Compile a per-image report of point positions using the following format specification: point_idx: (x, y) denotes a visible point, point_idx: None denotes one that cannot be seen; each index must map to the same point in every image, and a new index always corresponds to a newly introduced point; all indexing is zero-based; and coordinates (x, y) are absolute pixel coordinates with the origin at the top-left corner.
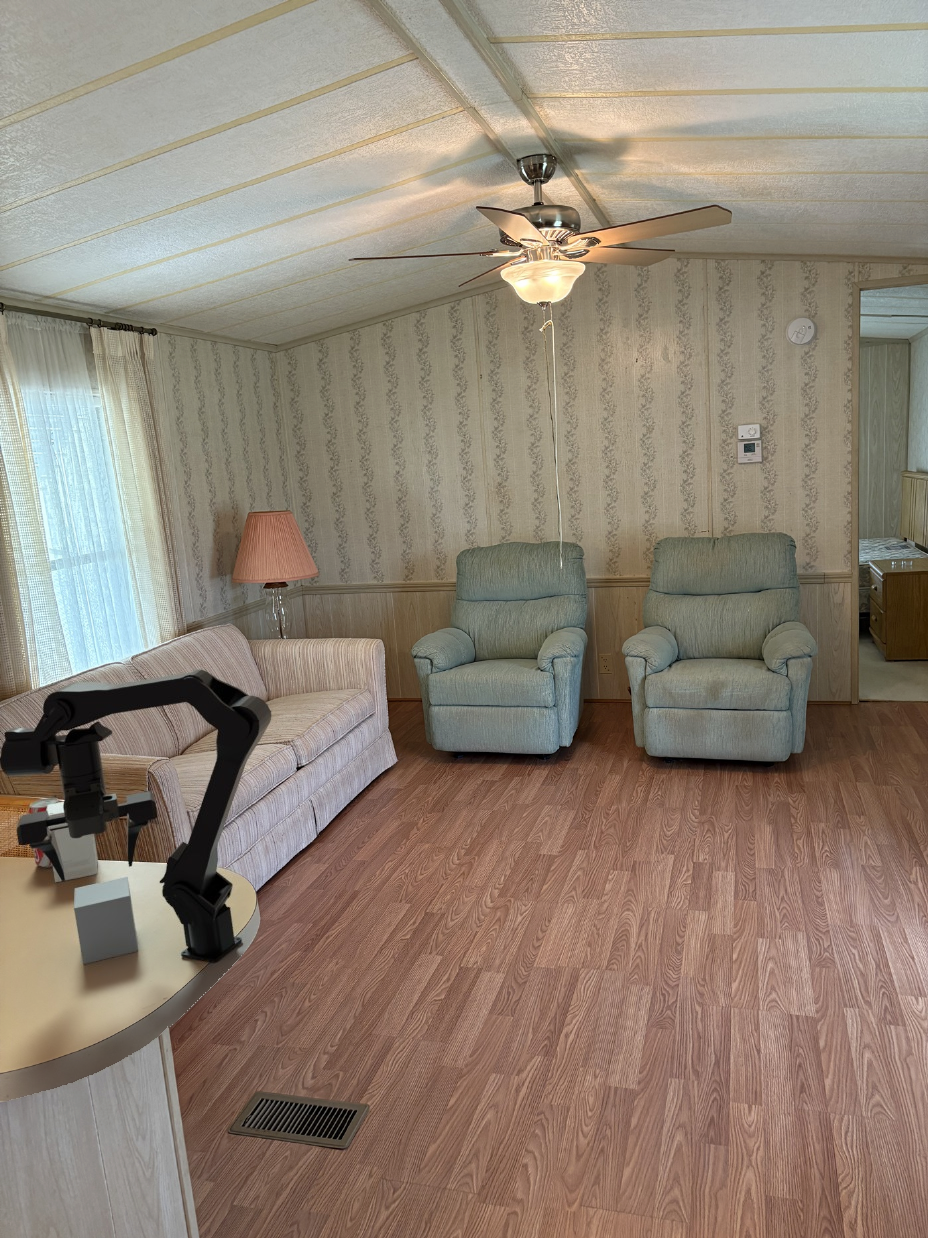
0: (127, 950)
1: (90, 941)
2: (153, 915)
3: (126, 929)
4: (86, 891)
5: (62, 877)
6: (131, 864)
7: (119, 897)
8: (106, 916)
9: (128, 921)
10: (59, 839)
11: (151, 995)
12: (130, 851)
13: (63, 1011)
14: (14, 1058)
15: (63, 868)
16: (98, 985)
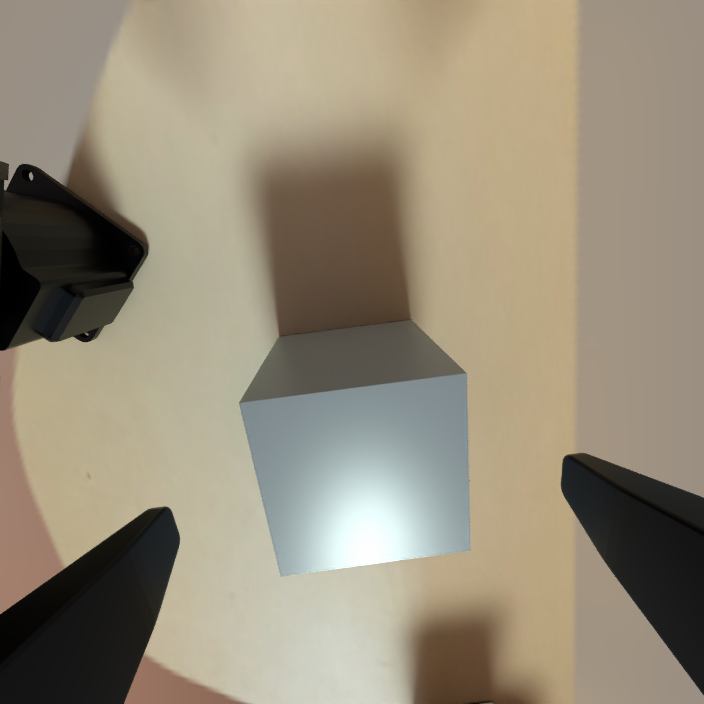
0: (302, 335)
1: (395, 336)
2: None
3: (290, 353)
4: (425, 509)
5: (595, 463)
6: (141, 514)
7: (282, 403)
8: (342, 365)
9: (277, 363)
10: None
11: (197, 36)
12: (48, 603)
13: (442, 58)
14: None
15: (613, 542)
16: (361, 180)
